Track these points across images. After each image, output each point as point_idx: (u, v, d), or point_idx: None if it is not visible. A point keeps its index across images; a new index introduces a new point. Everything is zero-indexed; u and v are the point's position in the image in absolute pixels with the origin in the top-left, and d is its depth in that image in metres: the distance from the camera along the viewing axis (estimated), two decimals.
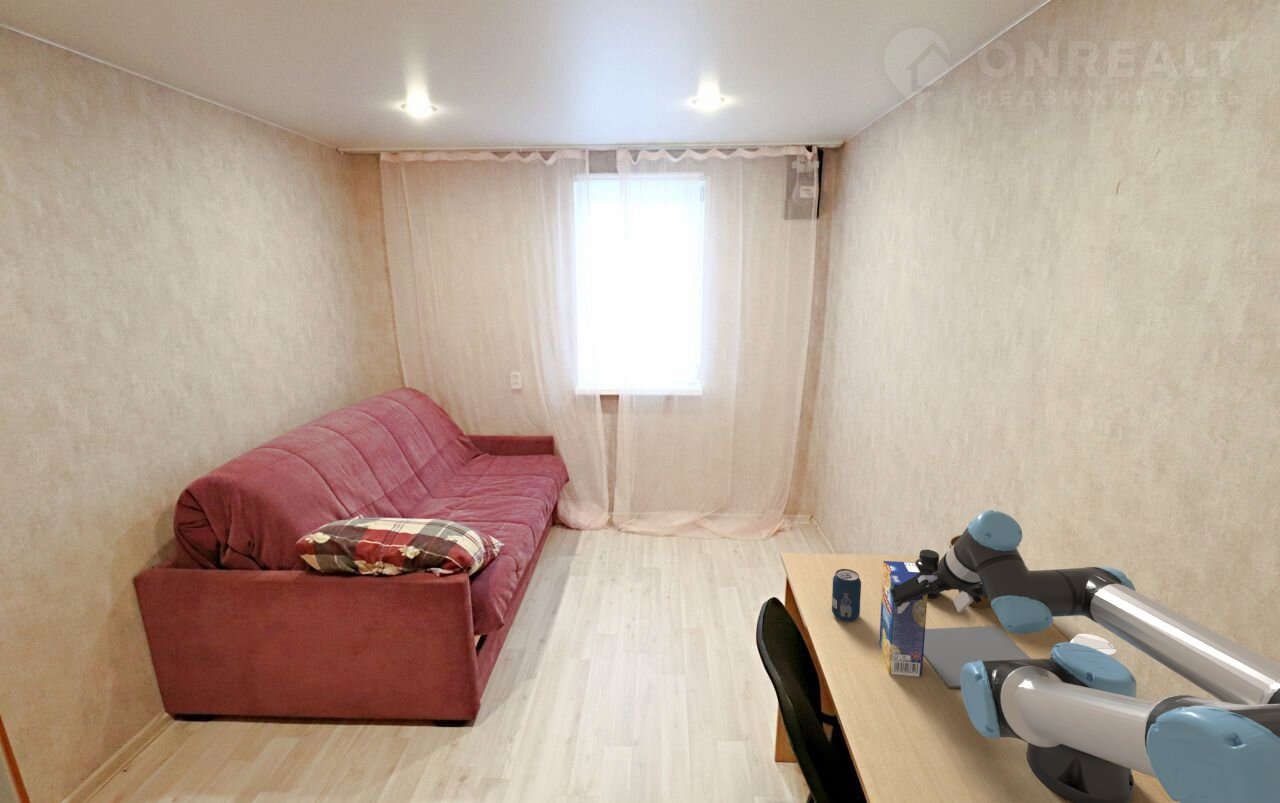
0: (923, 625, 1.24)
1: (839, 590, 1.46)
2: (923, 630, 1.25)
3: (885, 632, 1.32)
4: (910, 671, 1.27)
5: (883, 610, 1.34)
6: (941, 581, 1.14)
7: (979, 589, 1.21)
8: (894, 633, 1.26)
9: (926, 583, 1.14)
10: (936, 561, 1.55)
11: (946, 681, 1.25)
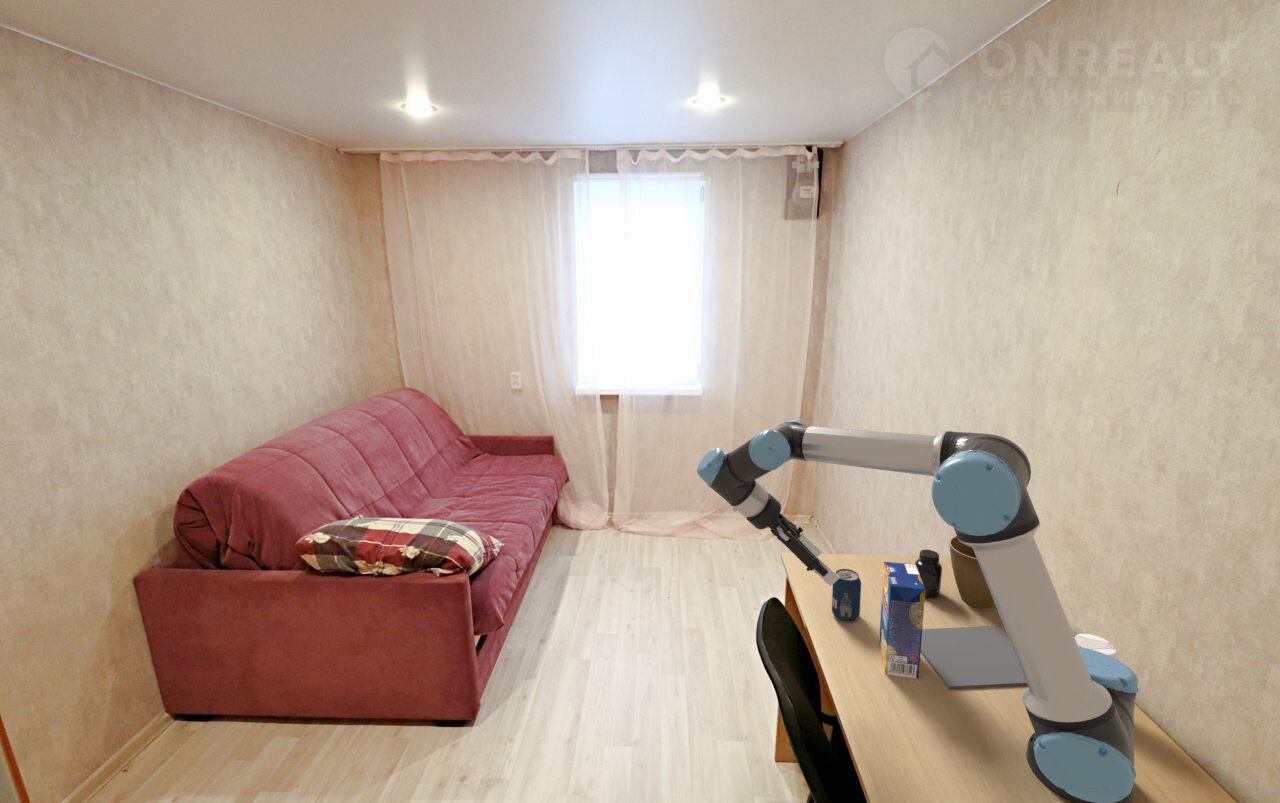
0: (920, 627, 1.24)
1: (839, 590, 1.46)
2: (920, 632, 1.24)
3: (883, 633, 1.32)
4: (907, 672, 1.27)
5: (882, 611, 1.34)
6: (779, 522, 1.21)
7: None
8: (891, 634, 1.26)
9: (785, 529, 1.19)
10: (936, 561, 1.55)
11: (946, 681, 1.25)
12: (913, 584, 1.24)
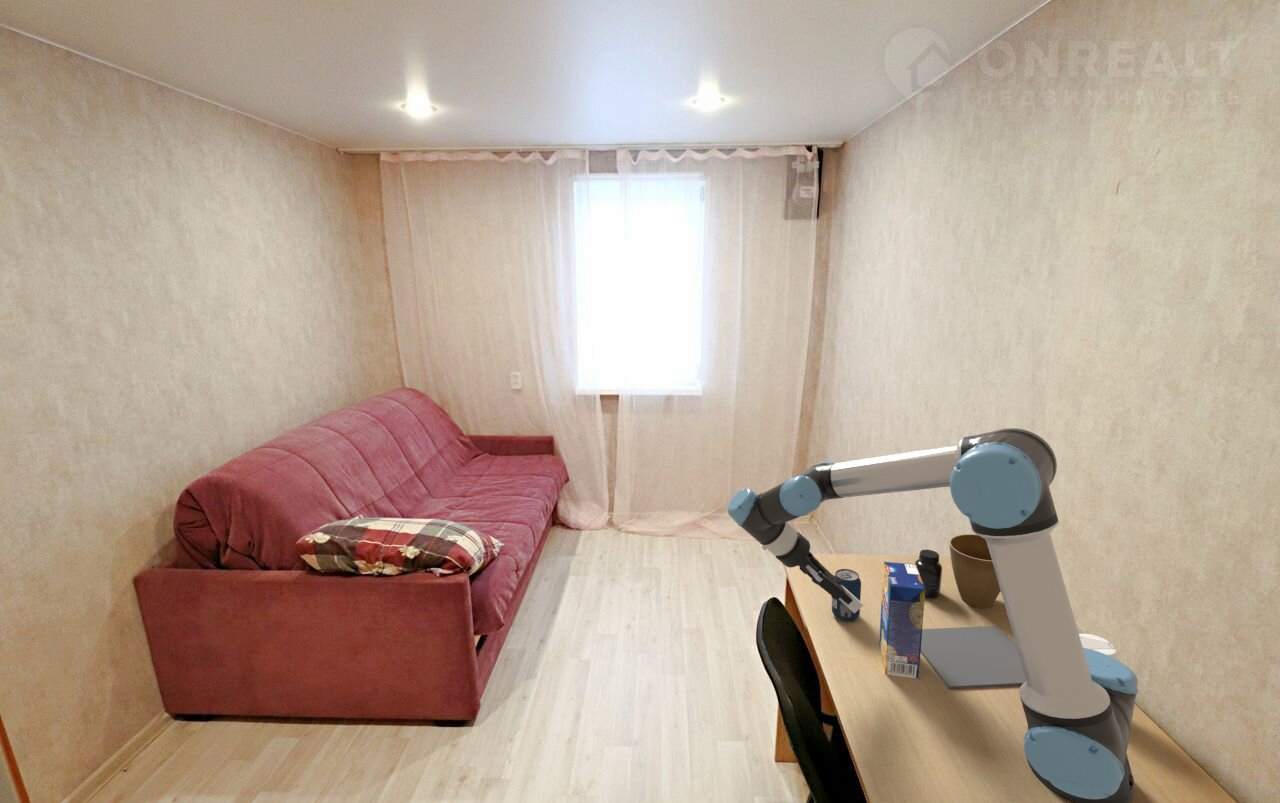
0: (920, 627, 1.24)
1: None
2: (920, 632, 1.24)
3: (883, 633, 1.32)
4: (907, 672, 1.27)
5: (882, 611, 1.34)
6: (810, 563, 1.23)
7: None
8: (891, 634, 1.26)
9: (821, 573, 1.21)
10: (936, 561, 1.55)
11: (946, 681, 1.25)
12: (913, 584, 1.24)
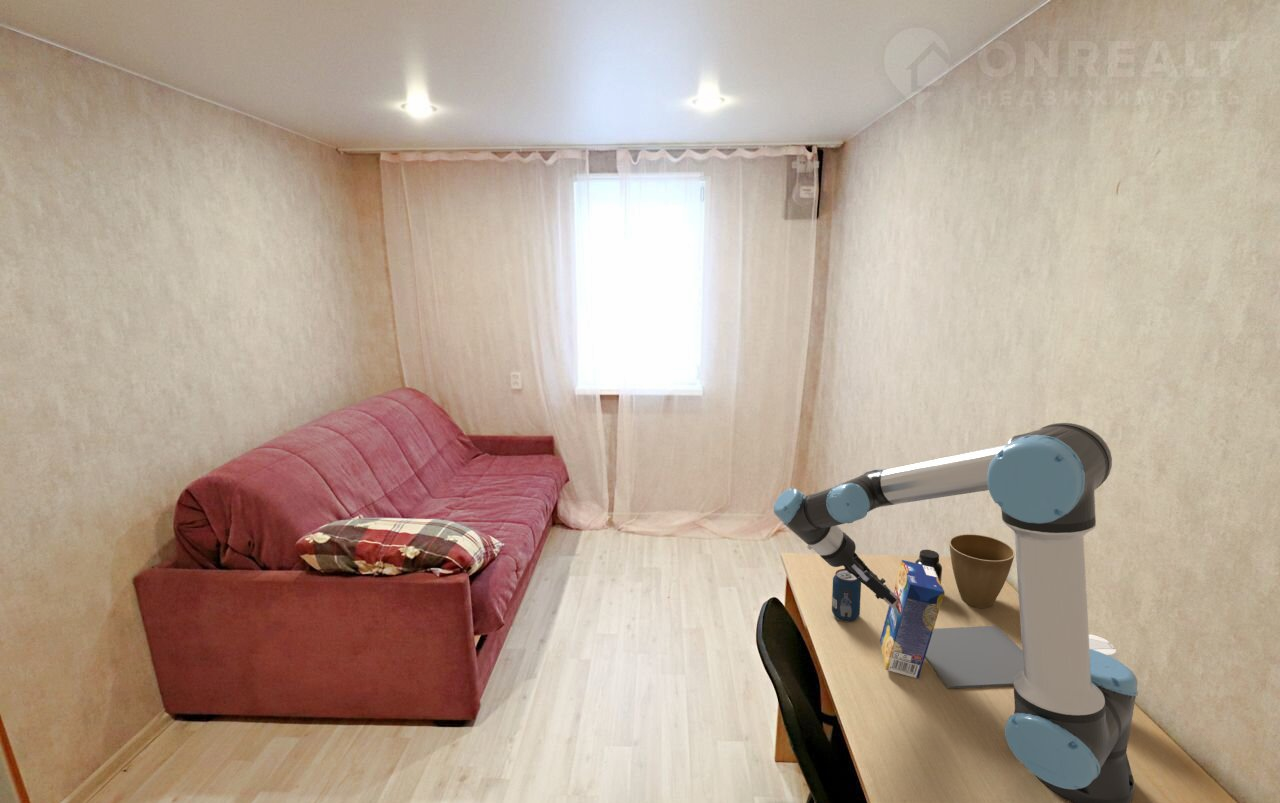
0: (931, 629, 1.23)
1: (839, 590, 1.46)
2: (930, 634, 1.24)
3: (889, 629, 1.31)
4: (908, 671, 1.27)
5: (891, 608, 1.33)
6: (856, 562, 1.24)
7: None
8: (900, 631, 1.25)
9: (868, 573, 1.22)
10: (936, 561, 1.55)
11: (946, 681, 1.25)
12: (932, 586, 1.23)
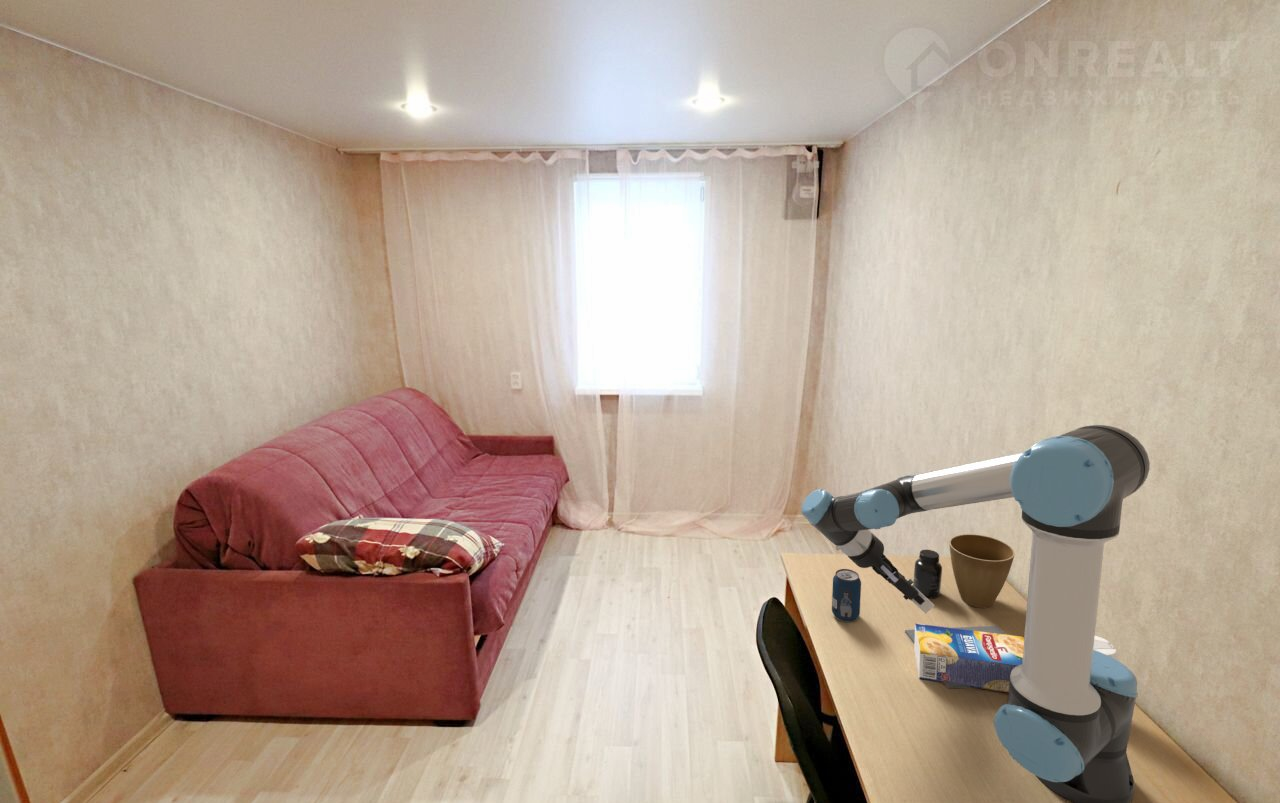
0: (984, 687, 1.22)
1: (839, 590, 1.46)
2: (978, 686, 1.23)
3: (951, 642, 1.28)
4: (925, 670, 1.26)
5: (968, 636, 1.29)
6: (885, 563, 1.24)
7: None
8: (973, 662, 1.22)
9: (897, 574, 1.22)
10: (936, 561, 1.55)
11: (946, 681, 1.25)
12: None
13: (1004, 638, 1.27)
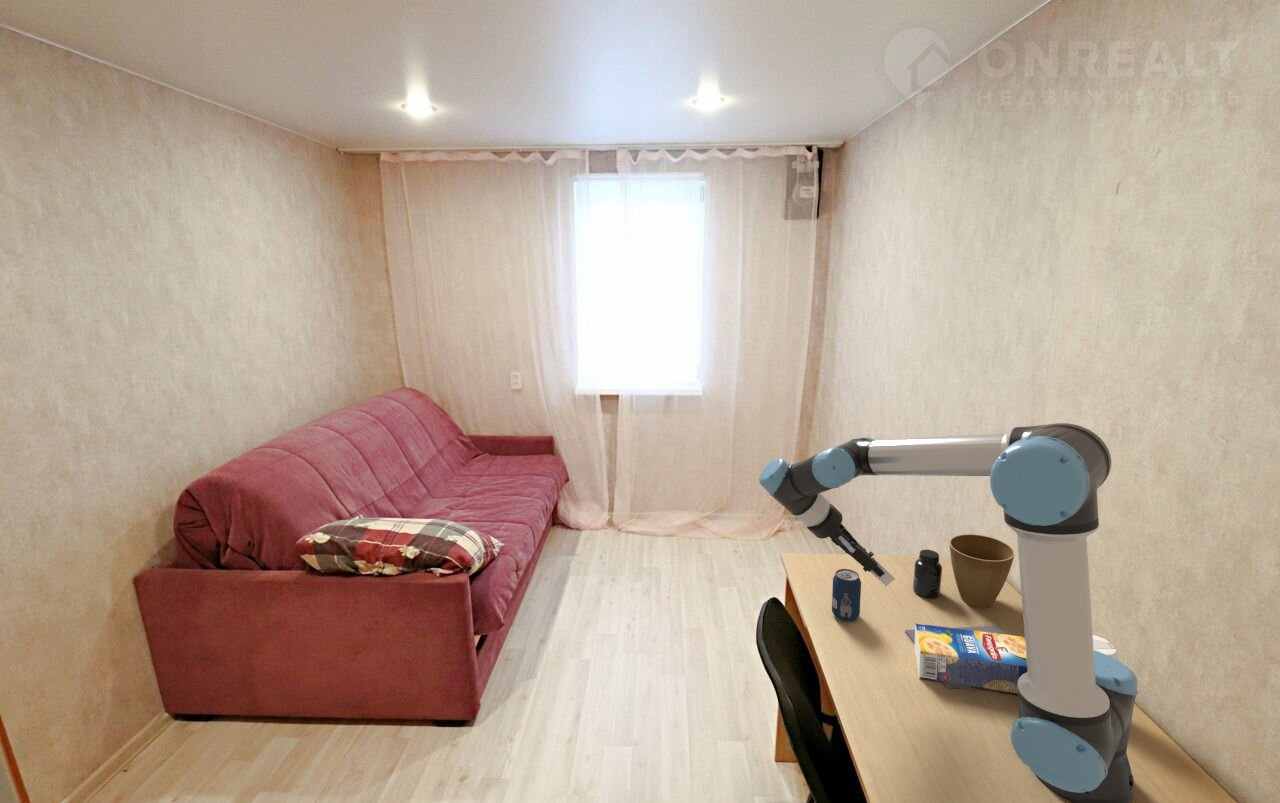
0: (985, 687, 1.22)
1: (839, 590, 1.46)
2: (978, 686, 1.23)
3: (951, 641, 1.28)
4: (925, 670, 1.26)
5: (968, 636, 1.29)
6: (843, 533, 1.22)
7: None
8: (973, 662, 1.22)
9: (854, 544, 1.21)
10: (936, 561, 1.55)
11: (946, 681, 1.25)
12: None
13: (1004, 638, 1.28)
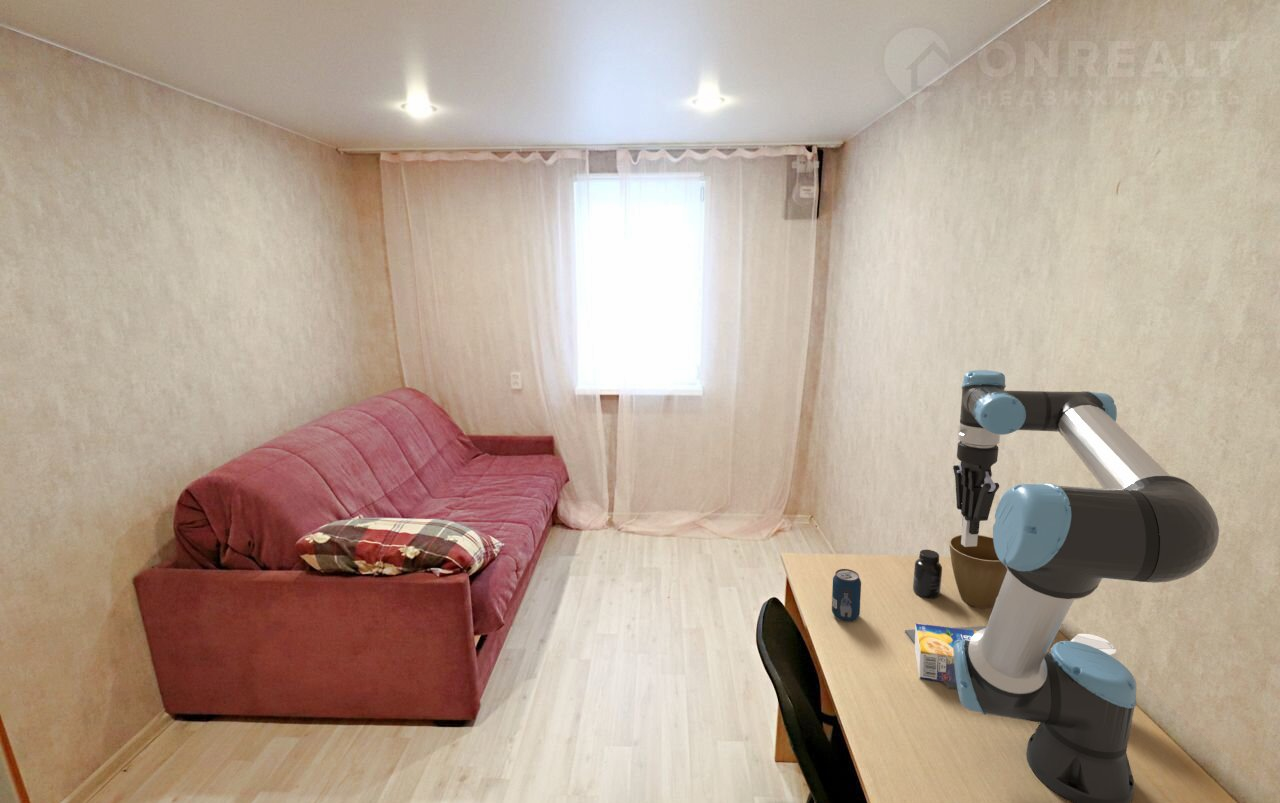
0: None
1: (839, 590, 1.46)
2: None
3: (952, 641, 1.28)
4: (925, 670, 1.26)
5: (968, 636, 1.29)
6: None
7: None
8: None
9: None
10: (936, 561, 1.55)
11: (946, 681, 1.25)
12: None
13: None
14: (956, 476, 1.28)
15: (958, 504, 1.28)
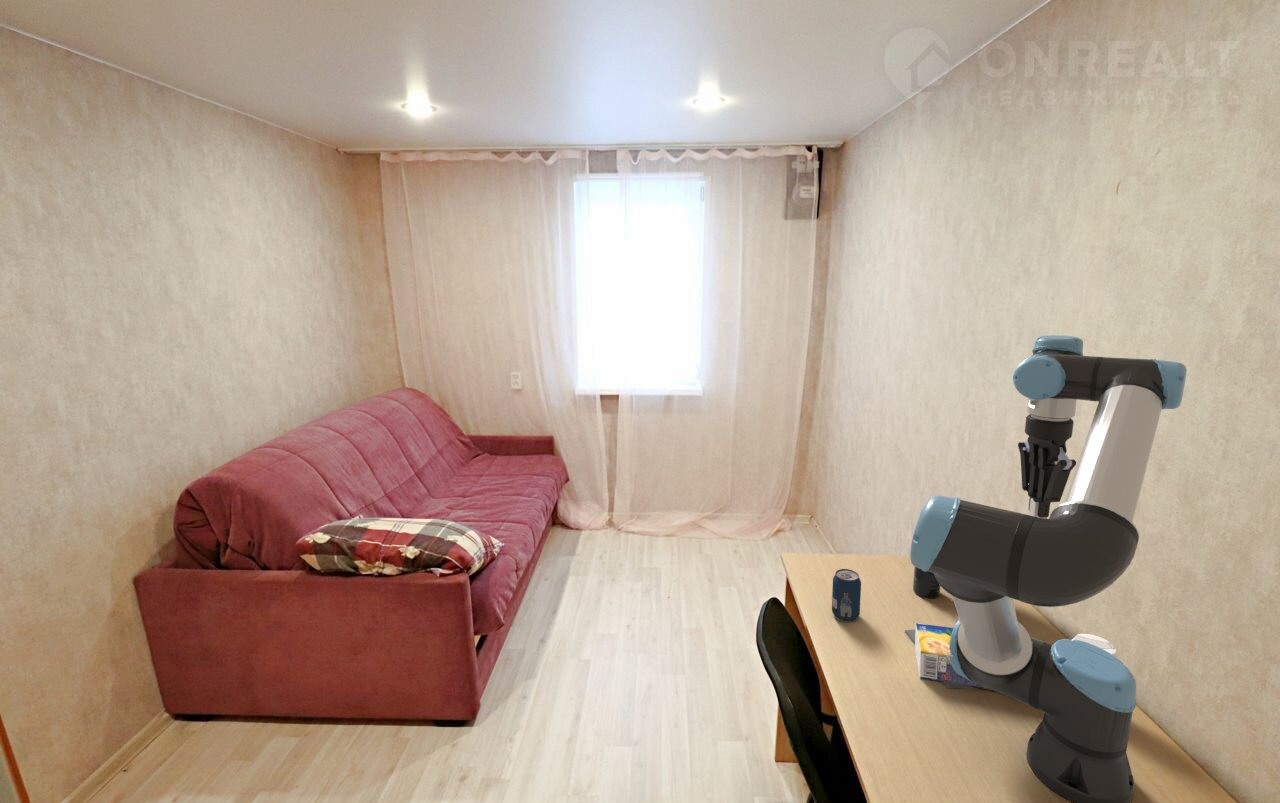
0: (985, 687, 1.22)
1: (839, 590, 1.46)
2: (978, 686, 1.23)
3: None
4: (926, 670, 1.26)
5: None
6: None
7: None
8: None
9: None
10: None
11: (946, 681, 1.25)
12: None
13: None
14: (1022, 454, 1.17)
15: (1024, 485, 1.17)
